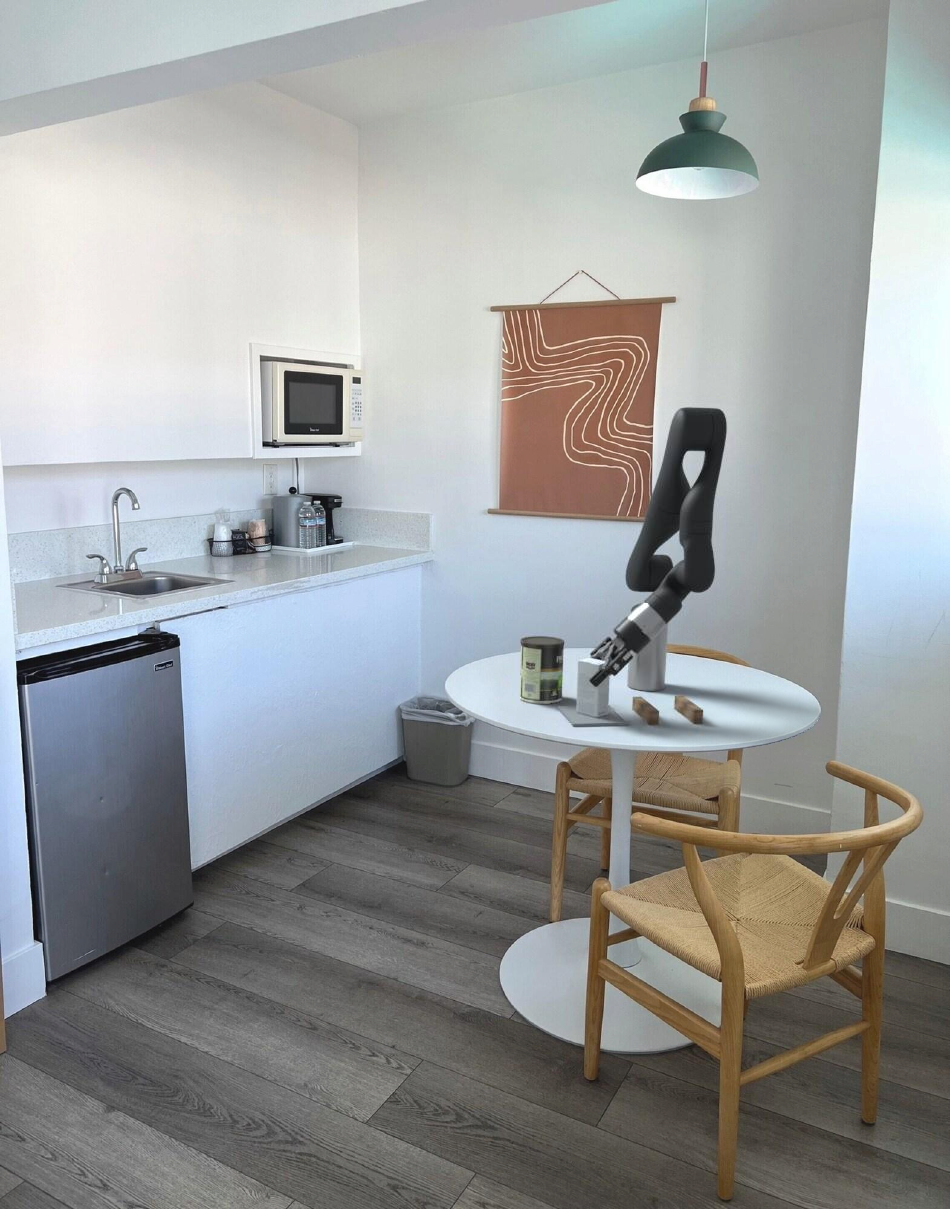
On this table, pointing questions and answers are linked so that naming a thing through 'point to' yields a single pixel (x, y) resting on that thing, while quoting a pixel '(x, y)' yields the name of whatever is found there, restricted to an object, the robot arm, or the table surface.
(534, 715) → the table surface
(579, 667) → the skincare box
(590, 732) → the table surface
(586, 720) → the mat
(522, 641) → the coffee can
